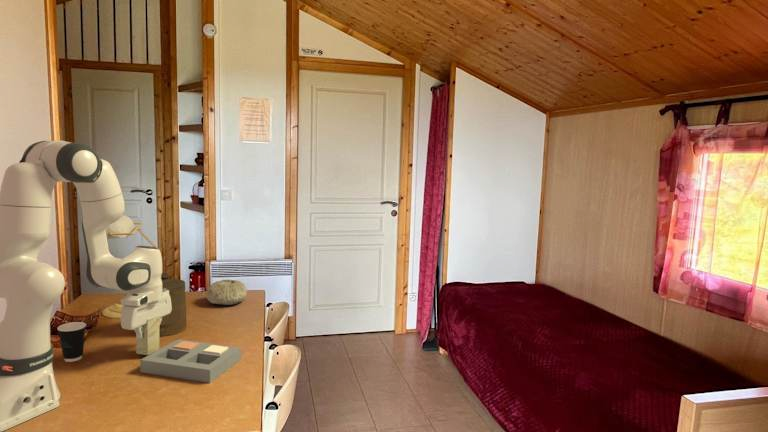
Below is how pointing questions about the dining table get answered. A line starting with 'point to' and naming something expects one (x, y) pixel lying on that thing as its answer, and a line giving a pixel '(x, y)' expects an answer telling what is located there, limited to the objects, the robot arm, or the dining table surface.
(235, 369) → the dining table surface
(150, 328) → the skincare box
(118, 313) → the desk lamp
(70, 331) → the dixie cup
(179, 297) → the brown metal canister
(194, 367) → the socket plate
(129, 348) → the dining table surface
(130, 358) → the dining table surface
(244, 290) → the decorative shell
